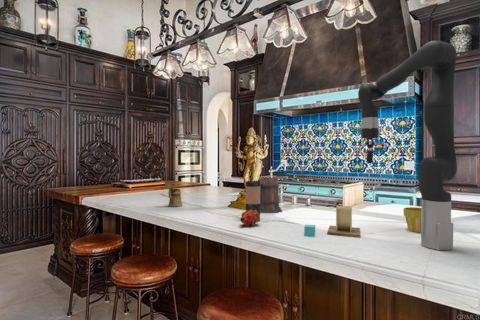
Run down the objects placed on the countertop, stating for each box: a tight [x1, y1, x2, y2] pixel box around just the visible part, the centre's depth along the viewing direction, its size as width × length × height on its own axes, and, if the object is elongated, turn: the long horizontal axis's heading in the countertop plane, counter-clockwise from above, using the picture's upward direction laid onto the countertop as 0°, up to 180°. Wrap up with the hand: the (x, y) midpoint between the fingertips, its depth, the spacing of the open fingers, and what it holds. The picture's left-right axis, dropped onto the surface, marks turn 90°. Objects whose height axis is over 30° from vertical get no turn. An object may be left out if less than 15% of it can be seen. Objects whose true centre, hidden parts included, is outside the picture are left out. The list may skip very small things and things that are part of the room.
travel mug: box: [245, 180, 261, 220], centre depth 157 cm, size 8×8×20 cm
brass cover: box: [335, 205, 353, 232], centre depth 131 cm, size 6×6×10 cm
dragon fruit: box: [239, 209, 261, 227], centre depth 143 cm, size 8×8×12 cm
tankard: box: [259, 176, 283, 214], centre depth 179 cm, size 24×17×20 cm
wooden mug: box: [163, 179, 183, 208], centre depth 195 cm, size 9×14×18 cm, turn 151°
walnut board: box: [326, 225, 361, 238], centre depth 131 cm, size 13×13×1 cm
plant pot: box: [403, 206, 421, 233], centre depth 134 cm, size 10×10×10 cm
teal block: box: [303, 224, 316, 238], centre depth 127 cm, size 4×4×4 cm
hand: (369, 163), depth 139 cm, fingers open, 8 cm apart
